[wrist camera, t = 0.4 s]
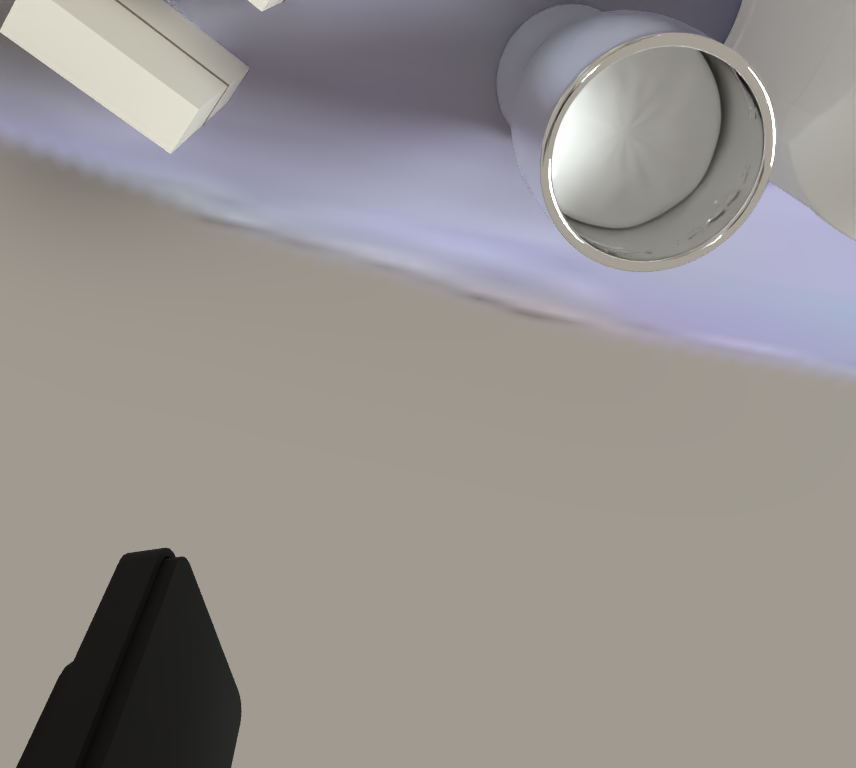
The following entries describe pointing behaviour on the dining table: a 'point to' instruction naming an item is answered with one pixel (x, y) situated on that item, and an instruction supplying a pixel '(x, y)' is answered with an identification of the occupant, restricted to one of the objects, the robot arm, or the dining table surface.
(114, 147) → the dining table surface
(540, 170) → the beer glass
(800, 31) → the jar
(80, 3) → the domino
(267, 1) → the domino
